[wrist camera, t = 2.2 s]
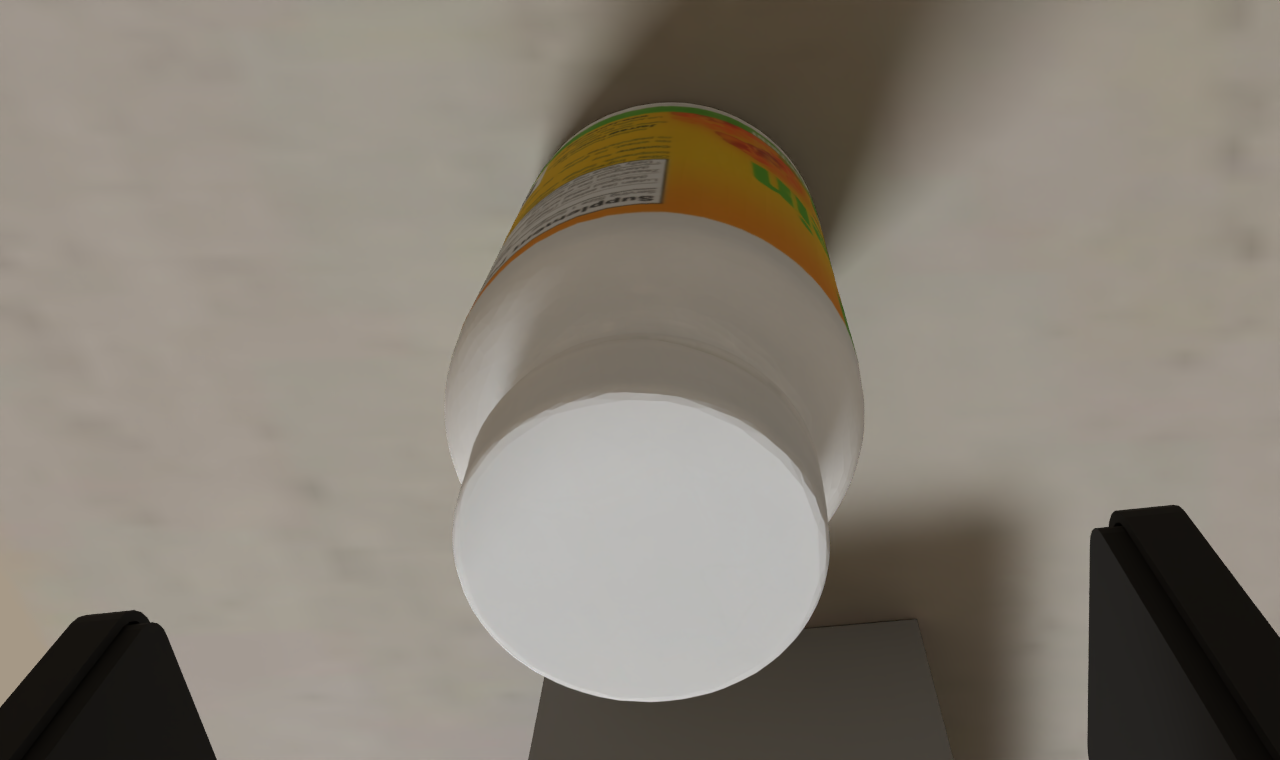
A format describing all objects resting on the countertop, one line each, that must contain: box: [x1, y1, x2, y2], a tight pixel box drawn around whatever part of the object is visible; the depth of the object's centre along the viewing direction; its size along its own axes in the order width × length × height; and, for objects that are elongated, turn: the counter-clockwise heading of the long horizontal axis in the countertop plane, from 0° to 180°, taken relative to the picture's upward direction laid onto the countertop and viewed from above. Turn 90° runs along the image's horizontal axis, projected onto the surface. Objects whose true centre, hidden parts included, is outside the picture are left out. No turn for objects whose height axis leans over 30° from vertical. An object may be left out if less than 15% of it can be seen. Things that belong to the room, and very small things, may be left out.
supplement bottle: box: [444, 102, 864, 702], centre depth 16 cm, size 5×5×10 cm
